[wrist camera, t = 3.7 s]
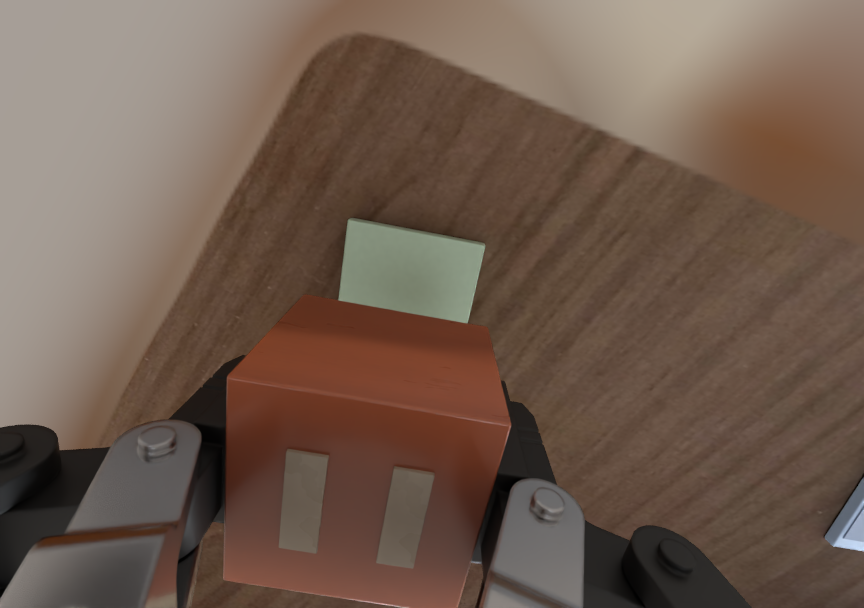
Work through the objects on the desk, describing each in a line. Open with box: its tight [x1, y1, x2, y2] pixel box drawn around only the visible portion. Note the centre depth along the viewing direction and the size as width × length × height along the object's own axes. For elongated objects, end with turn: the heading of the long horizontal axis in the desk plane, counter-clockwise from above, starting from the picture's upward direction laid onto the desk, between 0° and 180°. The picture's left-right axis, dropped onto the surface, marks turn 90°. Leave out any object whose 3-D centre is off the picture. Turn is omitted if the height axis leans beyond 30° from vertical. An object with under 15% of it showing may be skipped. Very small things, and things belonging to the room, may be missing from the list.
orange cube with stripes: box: [223, 294, 511, 608], centre depth 9 cm, size 5×5×4 cm
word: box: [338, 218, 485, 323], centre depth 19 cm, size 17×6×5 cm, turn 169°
